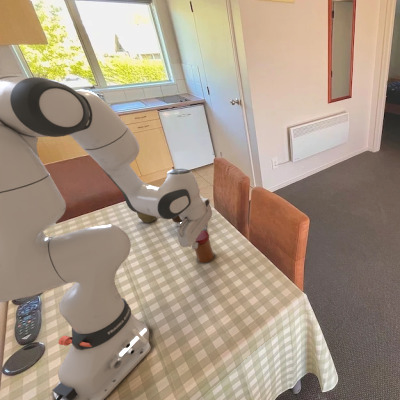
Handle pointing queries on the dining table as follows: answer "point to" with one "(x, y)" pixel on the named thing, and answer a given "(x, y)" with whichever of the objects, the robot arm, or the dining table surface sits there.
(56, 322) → the dining table surface
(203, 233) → the jar lid
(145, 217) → the squeeze bottle
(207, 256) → the jam jar
